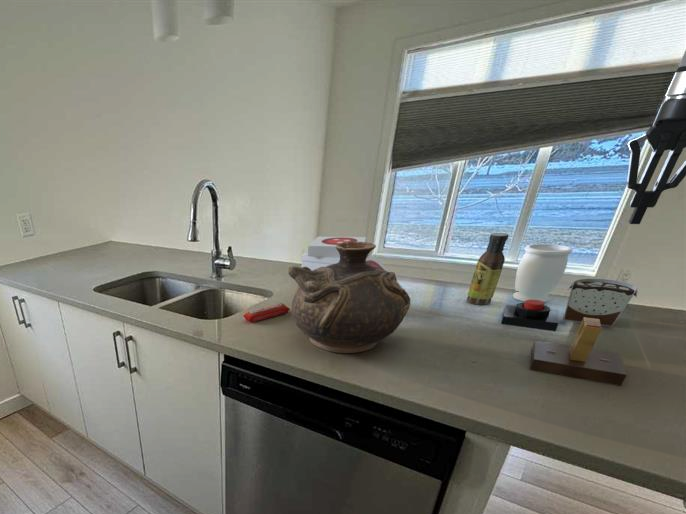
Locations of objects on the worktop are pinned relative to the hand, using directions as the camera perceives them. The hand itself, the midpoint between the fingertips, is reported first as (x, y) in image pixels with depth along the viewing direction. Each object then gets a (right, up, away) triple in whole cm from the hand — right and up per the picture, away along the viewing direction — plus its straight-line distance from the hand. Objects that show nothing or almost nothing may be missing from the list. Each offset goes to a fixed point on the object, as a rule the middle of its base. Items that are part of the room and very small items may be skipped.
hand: (634, 222), depth 91 cm
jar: (+2, -11, +30) cm, 32 cm away
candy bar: (-76, -16, +34) cm, 85 cm away
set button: (-10, -17, +14) cm, 24 cm away
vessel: (-60, -25, +16) cm, 67 cm away
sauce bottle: (-13, -12, +30) cm, 35 cm away
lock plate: (-19, -33, -5) cm, 38 cm away
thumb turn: (-19, -31, -6) cm, 37 cm away
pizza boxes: (-48, -9, +42) cm, 64 cm away
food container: (+4, -20, +14) cm, 25 cm away
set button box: (-10, -20, +16) cm, 27 cm away
